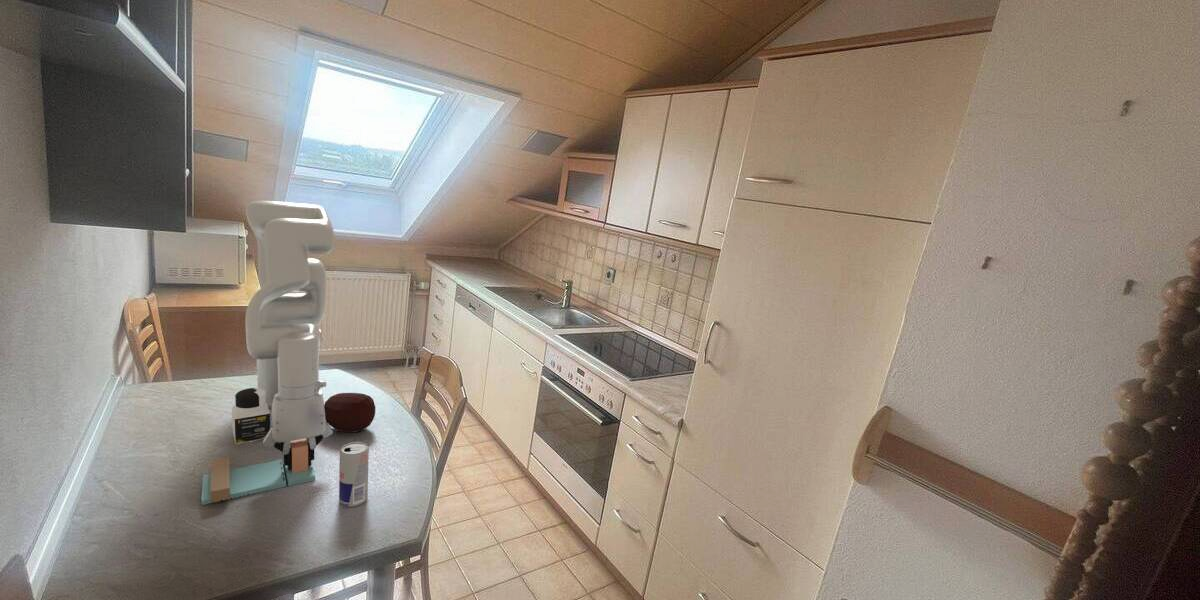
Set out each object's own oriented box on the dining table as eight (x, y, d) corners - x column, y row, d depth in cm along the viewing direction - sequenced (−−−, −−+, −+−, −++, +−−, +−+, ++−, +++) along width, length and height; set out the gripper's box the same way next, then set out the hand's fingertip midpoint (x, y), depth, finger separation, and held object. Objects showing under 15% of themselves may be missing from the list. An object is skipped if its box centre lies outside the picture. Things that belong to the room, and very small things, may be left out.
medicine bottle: (235, 445, 115) (233, 398, 113) (232, 432, 121) (230, 388, 118) (271, 438, 120) (270, 393, 118) (266, 426, 125) (265, 383, 123)
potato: (337, 417, 134) (338, 382, 132) (383, 424, 134) (384, 389, 132) (312, 436, 124) (312, 398, 122) (361, 443, 123) (362, 405, 121)
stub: (283, 463, 111) (283, 435, 109) (309, 458, 114) (309, 431, 112) (288, 485, 103) (288, 456, 102) (315, 479, 106) (315, 451, 105)
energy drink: (340, 494, 102) (340, 442, 100) (368, 490, 105) (369, 440, 102) (337, 509, 98) (338, 455, 95) (366, 505, 100) (368, 453, 97)
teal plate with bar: (203, 475, 103) (202, 461, 102) (281, 460, 112) (281, 447, 111) (201, 509, 93) (200, 493, 92) (286, 490, 102) (286, 475, 101)
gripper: (337, 378, 112) (336, 449, 116) (251, 387, 102) (253, 465, 106) (343, 389, 107) (342, 464, 110) (253, 401, 97) (255, 483, 100)
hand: (299, 464), depth 108 cm, fingers closed on stub, 3 cm apart
